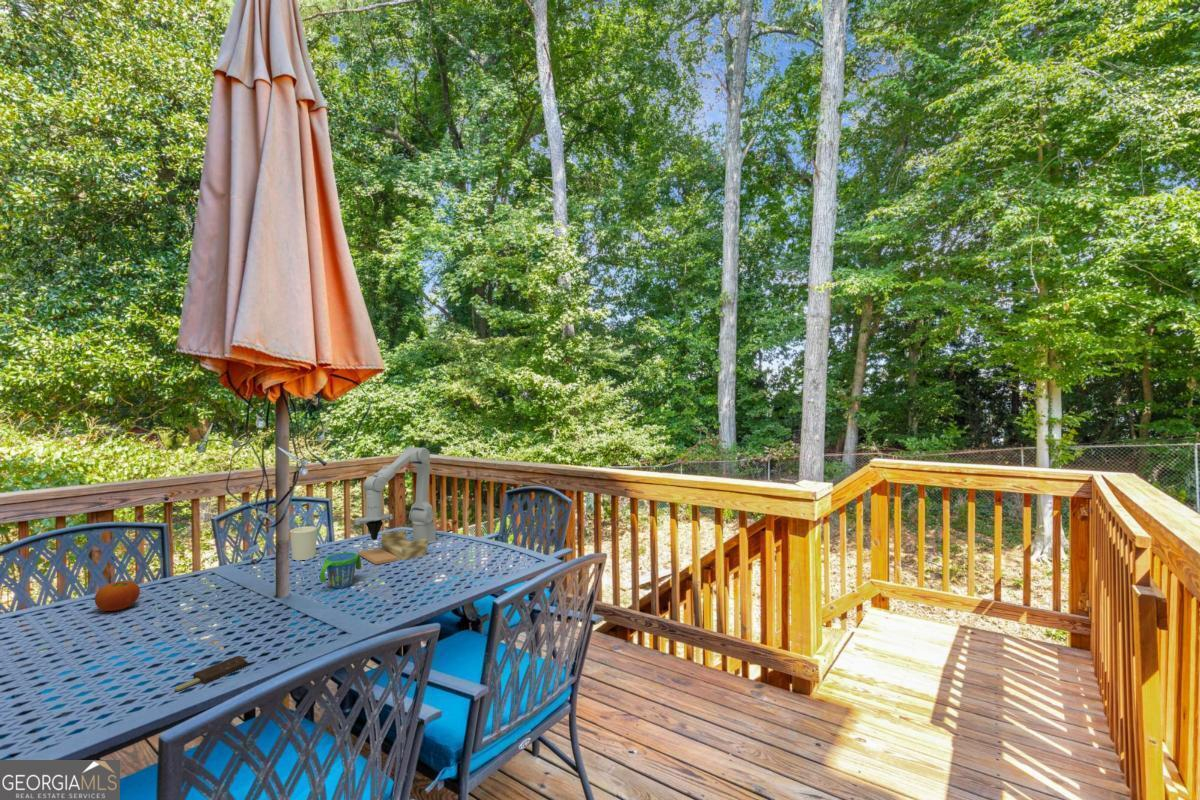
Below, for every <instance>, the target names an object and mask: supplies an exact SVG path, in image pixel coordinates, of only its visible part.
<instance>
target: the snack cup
mask: <svg viewBox="0 0 1200 800" xmlns="http://www.w3.org/2000/svg"><path fill="white" fill-rule="evenodd" d="M361 568H362V559H361V556H360V555H358V553H356V552H349V551H347V552H337V553H333V554H329V555H328V556H326V557H325V558H324V563H323V564H322V567H321V569H320V575H319V580H320V582H321V583H326V582H327V579H326V573H325V572H327V577H328V585H329V586H330V588H332V589H343V588H346V587H349V586H350V585H353V584H354V580H355V574H356V569H357V570H361Z"/></svg>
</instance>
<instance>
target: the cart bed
mask: <svg viewBox="0 0 1200 800" xmlns="http://www.w3.org/2000/svg"><path fill="white" fill-rule="evenodd" d="M411 541H412V542H411ZM428 545H429V544H428V539H421V540H416V541H413V540H409V539H407V530H406V529H403V530H397V531H392V532H390V531H389V532H386V533H381V549H382V550H384V551H386V552H388V553H390V554H392V555H394V556H396V557H398V560H401V561H405V560H410V559H415V558H419V557H423V556H427V555H428V548H429V547H428Z"/></svg>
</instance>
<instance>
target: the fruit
mask: <svg viewBox="0 0 1200 800" xmlns="http://www.w3.org/2000/svg"><path fill="white" fill-rule="evenodd" d="M140 593H141V589H140V586H139V585H138V584H137V583H136V582H135V581H131V580H121V581H113V582H110V583H109V584H106V585H104V586H102V587H100V588H99V589H98V591H97V592H96V593H95V595H94V603H95V606H96V607H97V608H98V610H101V611H102V612H103V611H104V612H114V611H121V610H124V609H126V608H129V607H130V606H132V605H133V604H134V603H135V602H136V601H137V600H138V599H139V597H140Z"/></svg>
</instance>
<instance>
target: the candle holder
mask: <svg viewBox="0 0 1200 800" xmlns="http://www.w3.org/2000/svg"><path fill="white" fill-rule="evenodd" d="M289 533H290V549H291V550H290V552H291V560H292V559H294V560H305V559H310V558H313V557H315V558H316V551H317V537H318V527H317V526H308V525H307V526H298V527H296V528H295V527H294V528H292V529H289Z"/></svg>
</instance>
